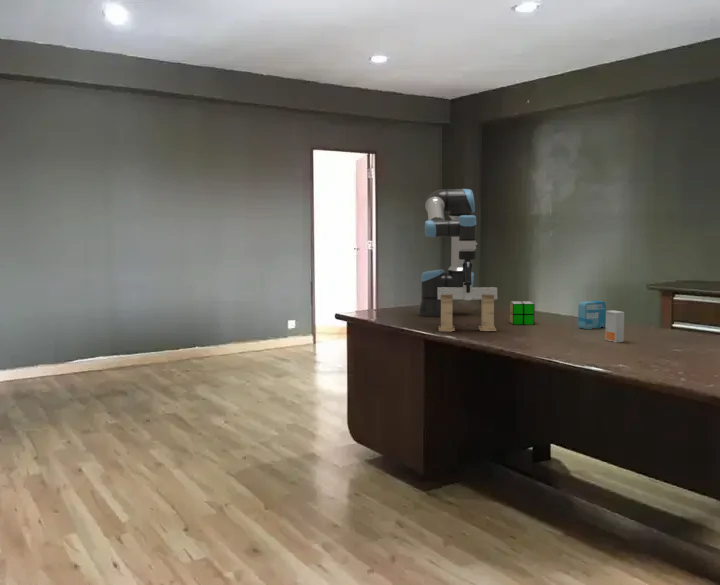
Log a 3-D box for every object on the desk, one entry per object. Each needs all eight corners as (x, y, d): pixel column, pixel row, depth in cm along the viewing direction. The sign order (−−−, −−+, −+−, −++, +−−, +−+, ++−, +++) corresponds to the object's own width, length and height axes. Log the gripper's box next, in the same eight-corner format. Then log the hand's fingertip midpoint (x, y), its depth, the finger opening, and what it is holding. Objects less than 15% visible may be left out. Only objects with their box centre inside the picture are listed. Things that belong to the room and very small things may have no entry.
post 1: (438, 328, 305) (438, 293, 303) (454, 328, 304) (454, 293, 302) (438, 331, 297) (438, 295, 295) (454, 331, 296) (454, 295, 294)
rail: (437, 298, 301) (437, 287, 301) (496, 298, 299) (496, 287, 298) (437, 299, 297) (437, 288, 297) (497, 299, 295) (497, 288, 294)
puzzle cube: (531, 322, 323) (531, 301, 322) (534, 325, 313) (534, 303, 312) (509, 321, 324) (510, 301, 323) (512, 325, 314) (512, 303, 313)
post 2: (478, 328, 303) (479, 293, 301) (494, 328, 302) (494, 293, 300) (480, 331, 295) (480, 295, 293) (496, 331, 294) (496, 295, 292)
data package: (584, 329, 298) (585, 302, 297) (577, 328, 302) (578, 301, 301) (605, 327, 303) (606, 301, 302) (598, 326, 307) (598, 300, 306)
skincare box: (604, 340, 271) (605, 310, 270) (613, 339, 272) (614, 310, 271) (615, 342, 265) (616, 312, 264) (624, 341, 267) (624, 311, 265)
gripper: (478, 251, 283) (477, 301, 285) (474, 249, 308) (473, 295, 310) (460, 251, 284) (459, 301, 286) (457, 249, 308) (457, 295, 311)
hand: (467, 298), depth 298 cm, fingers open, 13 cm apart
